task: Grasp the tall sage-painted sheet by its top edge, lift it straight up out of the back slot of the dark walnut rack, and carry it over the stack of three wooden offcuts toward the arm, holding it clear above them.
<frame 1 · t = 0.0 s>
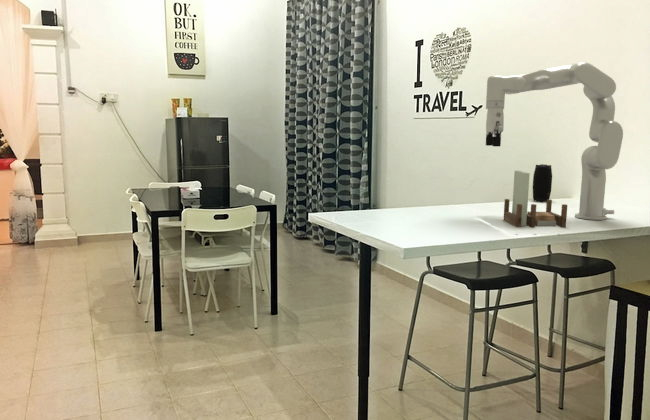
hand: (492, 145, 242), 31 cm above the table, fingers open, 9 cm apart
offcut 3: (540, 218, 225), point 3 cm above the table, touching offcut 2
offcut 2: (540, 223, 224), point 1 cm above the table, touching offcut 1, offcut 3
offcut 1: (539, 228, 225), on the table, touching offcut 2
rack: (532, 226, 225), on the table
portable speaker: (540, 201, 300), on the table
sheet: (518, 226, 225), on the table
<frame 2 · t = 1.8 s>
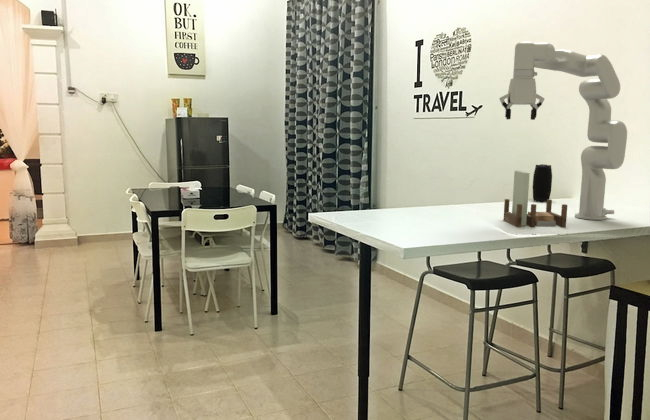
hand: (520, 119, 221), 42 cm above the table, fingers open, 9 cm apart
nothing on the table moved.
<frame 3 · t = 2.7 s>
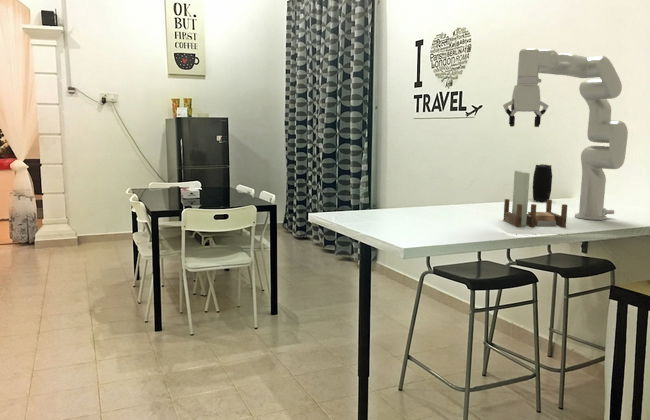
hand: (524, 126, 219), 40 cm above the table, fingers open, 9 cm apart
nothing on the table moved.
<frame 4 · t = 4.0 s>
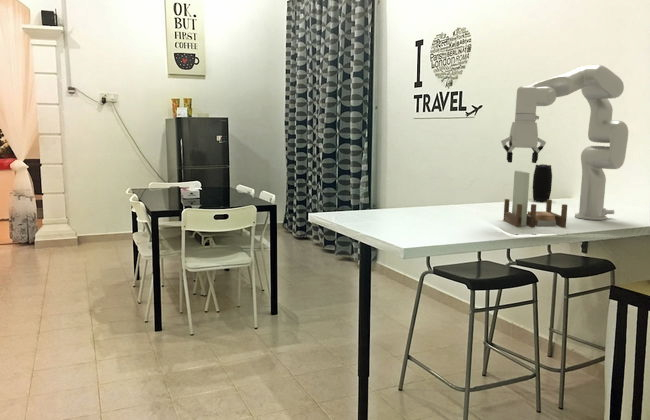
hand: (521, 162, 221), 26 cm above the table, fingers open, 9 cm apart
nothing on the table moved.
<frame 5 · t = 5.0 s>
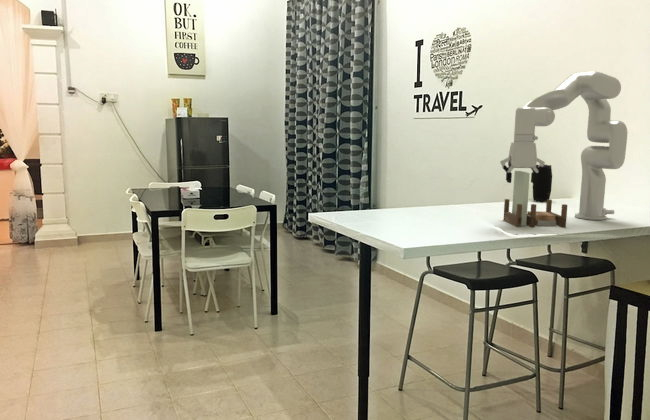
hand: (521, 182, 222), 18 cm above the table, fingers open, 9 cm apart
nothing on the table moved.
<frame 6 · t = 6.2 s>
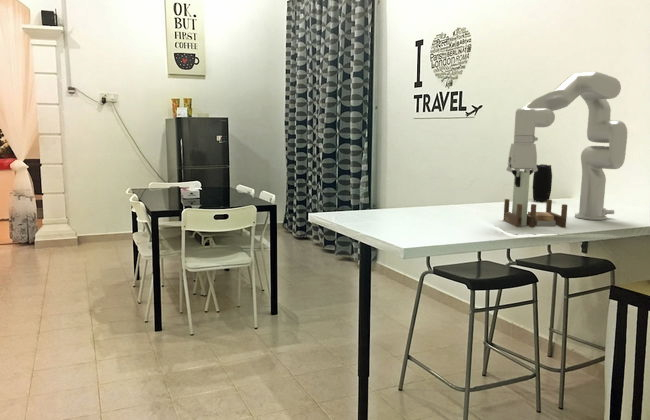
hand: (521, 186, 222), 16 cm above the table, fingers closed on sheet, 1 cm apart
sheet: (518, 226, 225), on the table, touching gripper
everything else where it was.
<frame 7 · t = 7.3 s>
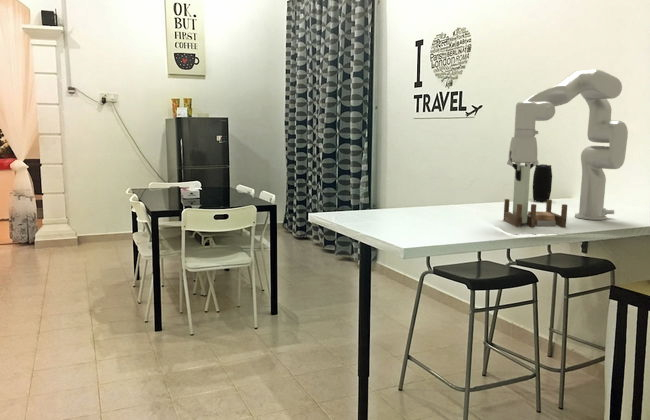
hand: (521, 180, 222), 19 cm above the table, fingers closed on sheet, 2 cm apart
offcut 3: (540, 218, 225), point 3 cm above the table
offcut 2: (540, 223, 224), point 1 cm above the table, touching offcut 1
sheet: (519, 220, 225), point 2 cm above the table, touching gripper
everything else where it was.
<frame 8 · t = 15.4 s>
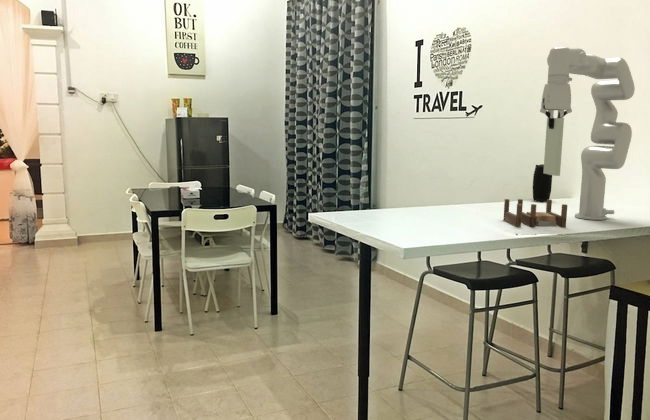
hand: (554, 128, 219), 39 cm above the table, fingers closed on sheet
offcut 3: (540, 219, 224), point 3 cm above the table, touching offcut 2
offcut 2: (540, 223, 225), point 1 cm above the table, touching offcut 1, offcut 3
sheet: (551, 174, 222), point 21 cm above the table, touching gripper
everything else where it was.
at the end: sheet inside the target area (0.0 cm from its centre), point 21.0 cm above the table; the gripper is holding sheet; offcut 3 moved 0.8 cm from its start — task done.
